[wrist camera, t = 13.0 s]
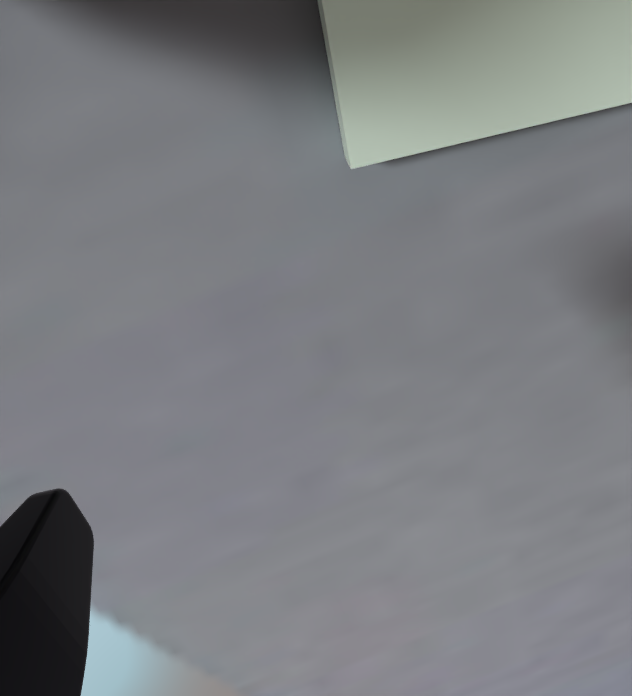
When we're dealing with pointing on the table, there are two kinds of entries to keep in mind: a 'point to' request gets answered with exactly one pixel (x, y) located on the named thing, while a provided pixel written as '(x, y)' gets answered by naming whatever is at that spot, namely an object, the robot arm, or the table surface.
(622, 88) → the green pad
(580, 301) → the table surface
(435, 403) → the table surface
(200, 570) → the table surface
